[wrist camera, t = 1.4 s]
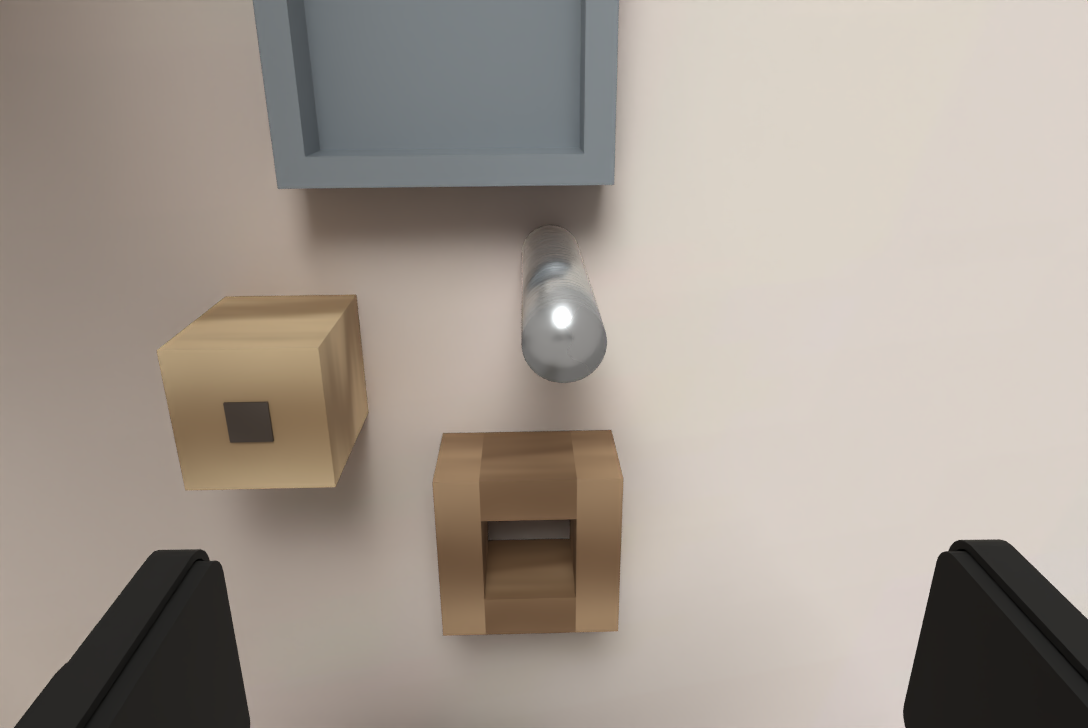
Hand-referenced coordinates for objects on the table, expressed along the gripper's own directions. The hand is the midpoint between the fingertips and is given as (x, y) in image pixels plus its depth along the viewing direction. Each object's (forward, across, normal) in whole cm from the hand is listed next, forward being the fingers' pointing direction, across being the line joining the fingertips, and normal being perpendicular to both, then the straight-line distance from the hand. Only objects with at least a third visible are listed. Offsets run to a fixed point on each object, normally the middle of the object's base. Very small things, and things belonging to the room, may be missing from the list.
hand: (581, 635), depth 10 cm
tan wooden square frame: (+20, +1, +11) cm, 23 cm away
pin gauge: (+20, 0, 0) cm, 21 cm away
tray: (+20, +3, -9) cm, 22 cm away
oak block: (+20, +10, +4) cm, 23 cm away
